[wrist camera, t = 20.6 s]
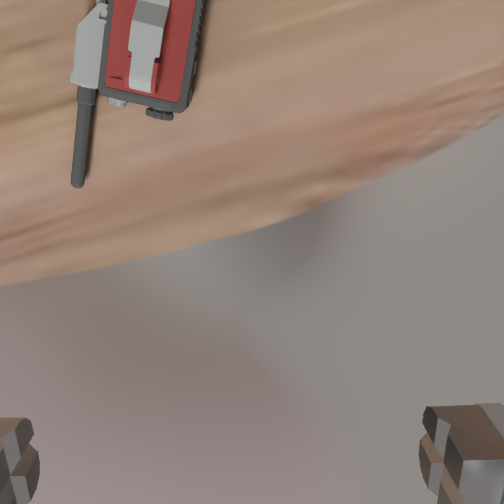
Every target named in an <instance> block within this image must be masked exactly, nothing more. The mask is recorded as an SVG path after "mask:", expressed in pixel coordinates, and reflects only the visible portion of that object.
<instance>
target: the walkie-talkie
mask: <svg viewBox="0 0 504 504" xmlns="http://www.w3.org/2000/svg"><path fill="white" fill-rule="evenodd" d="M206 2H207V1H206V0H97V2H96V6H95V7H94V8H93V9H92V10H91V11H90V13H89V14H88V15H87V16H86V17H85V18H84V19H83V20H82V21H81V22H80V23H79V24H78V25H77V31H76V41H75V52H74V62H73V70H72V71H71V72H70V82H71V83H76V84H78V92H77V101H78V113H77V123H76V133H75V143H74V153H73V164H72V174H71V184H72V186H73V187H75V188H81V187H83V185H84V181H85V172H86V163H87V154H88V145H89V136H90V127H91V118H92V109H93V105H94V104H95V98H96V89H98V90H99V92H100V94H101V95H102V96H106V97H108V103H111V104H114V106H117V107H122V108H125V105H126V103H127V102H132V103H136V104H140V105H145V106H149V107H150V108H147V109H146V115H147V116H150V117H153V118H156V119H161V120H169V121H171V120H173V113H172V112H177V113H181V112H183V111H184V110H185V109H186V108H188V106H189V103H190V102H191V99H192V93H193V89H192V83H193V77H194V75H195V74H196V70H197V64H198V61H196V60H197V54H198V47H197V46H198V43H199V42H200V40H199V35H201V32H200V28H201V27H202V19H204V16H203V12H204V11H205V8H204V5H205V3H206Z"/></svg>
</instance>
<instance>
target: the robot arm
mask: <svg viewBox="0 0 504 504" xmlns="http://www.w3.org/2000/svg"><path fill="white" fill-rule="evenodd" d="M422 423H423V425H424V427H425V429H426V431H427V433H426V434H425V435H424V437H423V438H422V439H421V440H420V445H419V460H420V468H421V472H422V475H423V479H424V481H425V483H426V485H427V488H428V489H429V490H431V491H432V492H433V493H434V494H436V495H437V496H438V501H437V504H504V405H502V404H500V403H484V404H474V405H454V406H427V407H426V409H425V411H424V414H423V421H422ZM33 435H34V431H33V427H32V423H31V421H30V420H29V419H27V418H0V504H28V503H29V502H30V501H31V499H32V497H33V495H34V493H35V490H36V488H37V484H38V479H39V475H40V461H39V455H38V451H37V450H35V449H34V448H33V447H32V446H31V445H30V444H29V442H30V441H31V439H32V437H33Z"/></svg>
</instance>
